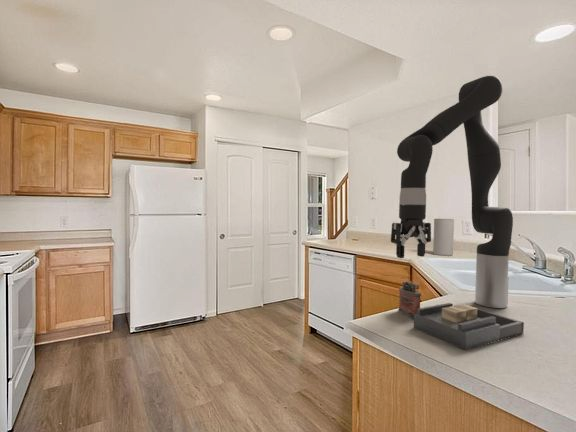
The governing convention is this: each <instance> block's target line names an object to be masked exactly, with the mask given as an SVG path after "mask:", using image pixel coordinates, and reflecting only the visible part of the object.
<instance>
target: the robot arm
mask: <svg viewBox="0 0 576 432" xmlns="http://www.w3.org/2000/svg"><path fill="white" fill-rule="evenodd" d="M502 94H503V84H502V81H501V79H500V78H499V77H497V76H496V75H485V76H482V77H479V78H477V79H474V80H471V81H469V82H466V83H464V84H462V86H461V87H460V88H459V92H458V101H457V102H456V103H454V104H453V105H452V106H449V107H448V108H446V109H444V110H443V111H441V112H439V113H438V114H436V115H435V116H434V117H433V118H432V119H430V120H429V121H428V122H426V123H425V124H424V125H423V126H422V127H421V128H419V129H418V130H416V131H414V132H413V133H411V134H409V135H408V136H406V137H404V138H403V139H402V140H401V142H399V144H398V146H397V149H396V155H397V156H398V159H400V160H401V161H403V162H408V163H409V164H408V166H407V168H405V169H403V170H402V171H401V174H400V191H399V203H398V205H399V206H398V208H399V209H398V218H399V219H400V222H392V224H391V233H390V243H393V244H395V246H396V252H395V254H396V258H399V259H404V258H405V243H406V242H407V241H408V240H409V239H410V238H414V239H415V240H416V242H417V244H416V245H417V249H416V250H417V251H416V252H417V253H416V256H417V257H422V258H423V257H424V256H425V254H426V245H427V244H428V243H430V242H432V224H431V223H430V222H424V220H426V217H427V216H426V212H427V189H426V188H427V185H426V184H427V172H428V169H429V167H430V163H431V159H432V155H433V151H434V150H433V146H435V145H437V144H440V143H441V142H442V141H444V140H445V139H446V138H447V137H448V136H450V134H452V133H453V132H454V131H455V130H456V129H458V128H459V127H460V126H461V125H463V129H464V133H465V135H464V136H465V141H466V142H465V143H466V149H467V151H466V152H467V154H466V155H467V163H468V171H469V176H470V177H469V180H470V188H471V189H470V190H471V224H472V226H473V229H474V230H475V231H476V232H477V233H480V234H488V235H489V234H490V235H492V237H491V239H490V240H489V241H487V242H483V243H480V244H477V247H476V261H475V262H476V264H475V265H476V266H475V267H476V268H475V289H474V290H475V292H474V295H475V296H474V302H475V304H477V305H479V306H482V307H483V306H484V307H487V308H492V309H493V308H495V309H505V308H507V306H508V305H509V284H510V283H509V260H510V259H509V256H510V248H511V245H512V235H513V228H514V227H513V226H514V225H513V224H514V218H513V217H514V216H513V213H512V210H511V209H510V208H508V207H506V206H505V207H504V206H503V207H502V206H489V193H490V190H491V188H492V186H493V184H494V181H496V179H497V177H498V175H499V173H500V171H501V167H502V160H501V159H502V158H501V150H500V145H499V143H498V142H497V140H496V139H495V137H494V136H493V135H492V134H491V132H489V130H488V129H487V127H486V125H485V123H484V121H483V114H482V111H483V110H485V109H487V108H488V107H490V106H492V105H493V104H496V103H497V102H498V101H499V100H500V98H501V96H502Z"/></svg>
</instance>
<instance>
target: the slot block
mask: <svg viewBox="0 0 576 432" xmlns="http://www.w3.org/2000/svg"><path fill="white" fill-rule="evenodd" d="M451 306H454V305H453V303H451V302H448V303H443V304H437V305H432V306H431V305H430V306H425V307H420V308H419V309H417V313H414V318H413V329H415V330H418V331H420V332H422V333H425V334H427V335H429V336H431V337H434V338H436V339H438V340H440V341H444V342H445V343H448V344H450V345H452V346H454V347H457V348H459V349H460V350H463V351H469V350H470V349H471V350H472V349H474V348H475V349H476V348H478V346H479V347H481V345H482V346H484V345H485V344H486V345H489V344H492V343H491V342H493V343H495V342H494V341H496V342H499V341H498V340H499V336H500V325H499V324H496V317H493V316H490V317H486V318H482V319H481V318H478V317H477V318H474V319H470V320H465V321H461V322H456V323H455V322H452V321H450V320H447V319H444V318H442V308H445V307H451ZM488 343H489V344H488ZM486 345H485V346H486Z"/></svg>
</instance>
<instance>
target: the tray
mask: <svg viewBox="0 0 576 432" xmlns="http://www.w3.org/2000/svg"><path fill="white" fill-rule="evenodd" d="M476 308H477V307H476ZM490 316H493V317H496V324H499V325H500V336H499V340H500V341H502V340H501V339H503V340H506V339H505V338H507V339H509V338H508V337H510V338H513V336H514V337H516V335H517V336H520V335H524V329H525V327H524V326H525V325H524V324H525V322H524V321H520V320H517V319H513V318H510V317H507V316H505V315H504V316H503V315H501V314H497V313H495V312H491V311H487V310H483V309H481V308H477V317H478V318H481V319H482V318H486V317H490Z"/></svg>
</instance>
